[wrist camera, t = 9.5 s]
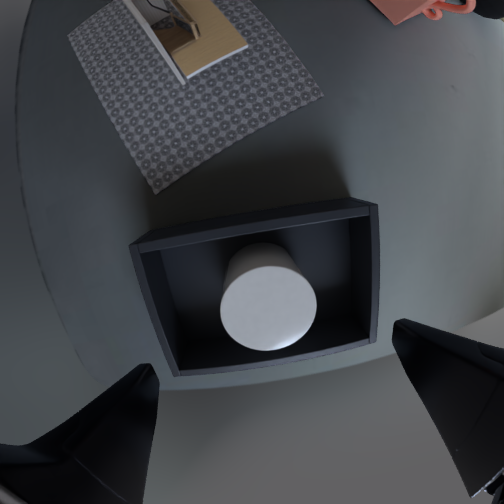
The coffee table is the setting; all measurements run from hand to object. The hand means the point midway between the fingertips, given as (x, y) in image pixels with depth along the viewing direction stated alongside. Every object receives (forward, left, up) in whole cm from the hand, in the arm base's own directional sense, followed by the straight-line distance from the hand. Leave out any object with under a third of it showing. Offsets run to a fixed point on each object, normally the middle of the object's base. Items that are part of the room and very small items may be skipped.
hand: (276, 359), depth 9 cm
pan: (0, 0, -8) cm, 8 cm away
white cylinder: (0, 0, -7) cm, 7 cm away
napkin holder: (+8, +13, -8) cm, 17 cm away
